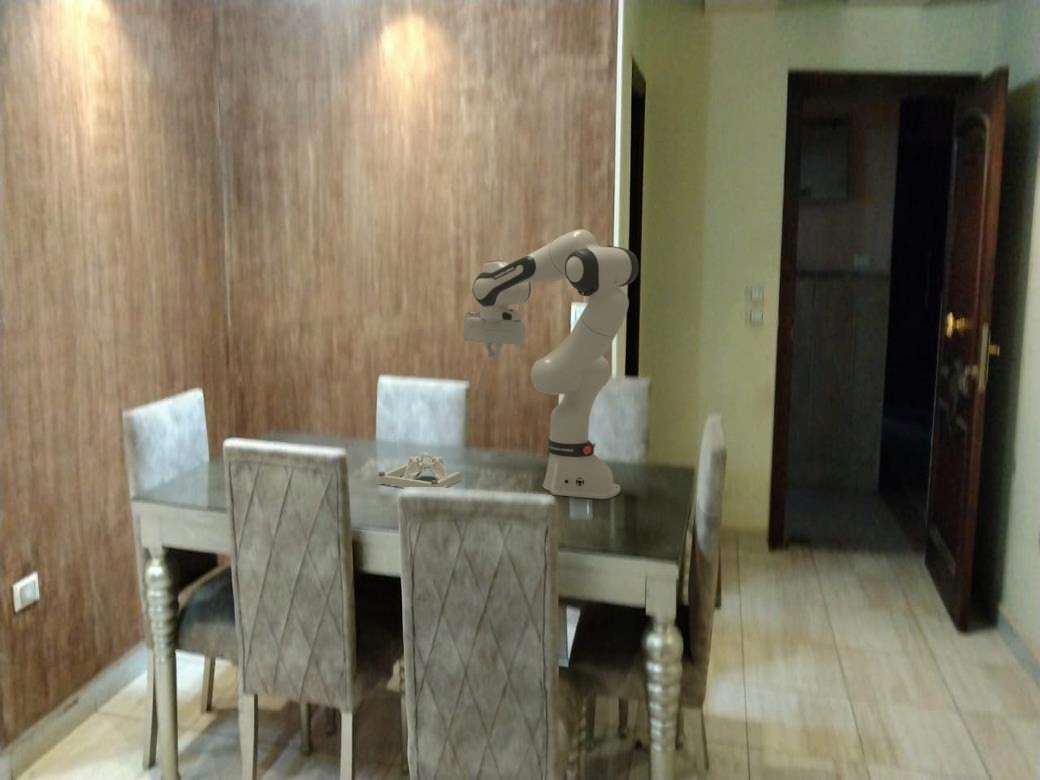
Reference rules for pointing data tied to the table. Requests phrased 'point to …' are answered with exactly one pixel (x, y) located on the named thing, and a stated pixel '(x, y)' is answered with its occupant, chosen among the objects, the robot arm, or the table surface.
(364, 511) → the table surface
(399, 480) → the bent beige bar frame
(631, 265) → the robot arm
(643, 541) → the table surface
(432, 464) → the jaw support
